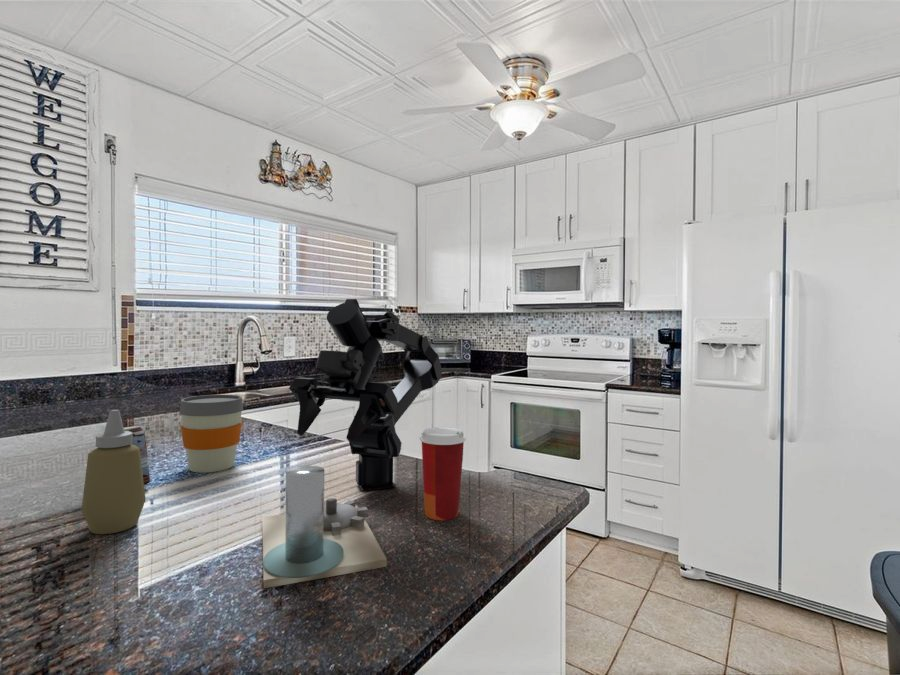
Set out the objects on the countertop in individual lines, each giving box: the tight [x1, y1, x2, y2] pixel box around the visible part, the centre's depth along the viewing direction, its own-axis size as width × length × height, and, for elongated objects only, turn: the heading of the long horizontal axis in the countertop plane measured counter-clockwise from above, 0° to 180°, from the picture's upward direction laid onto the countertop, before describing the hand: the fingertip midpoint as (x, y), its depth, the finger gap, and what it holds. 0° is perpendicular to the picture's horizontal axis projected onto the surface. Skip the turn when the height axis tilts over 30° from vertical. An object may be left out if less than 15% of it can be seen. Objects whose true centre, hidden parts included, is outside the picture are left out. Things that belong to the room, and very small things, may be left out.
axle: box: [285, 465, 325, 564], centre depth 62 cm, size 5×5×11 cm
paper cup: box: [418, 426, 466, 522], centre depth 80 cm, size 8×8×14 cm
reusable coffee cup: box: [179, 394, 244, 473], centre depth 105 cm, size 13×12×15 cm
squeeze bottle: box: [81, 409, 147, 535], centre depth 73 cm, size 8×8×18 cm
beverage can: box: [124, 425, 151, 488], centre depth 89 cm, size 6×7×12 cm
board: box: [261, 497, 388, 589], centre depth 69 cm, size 16×22×4 cm
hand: (323, 437), depth 77 cm, fingers open, 9 cm apart
